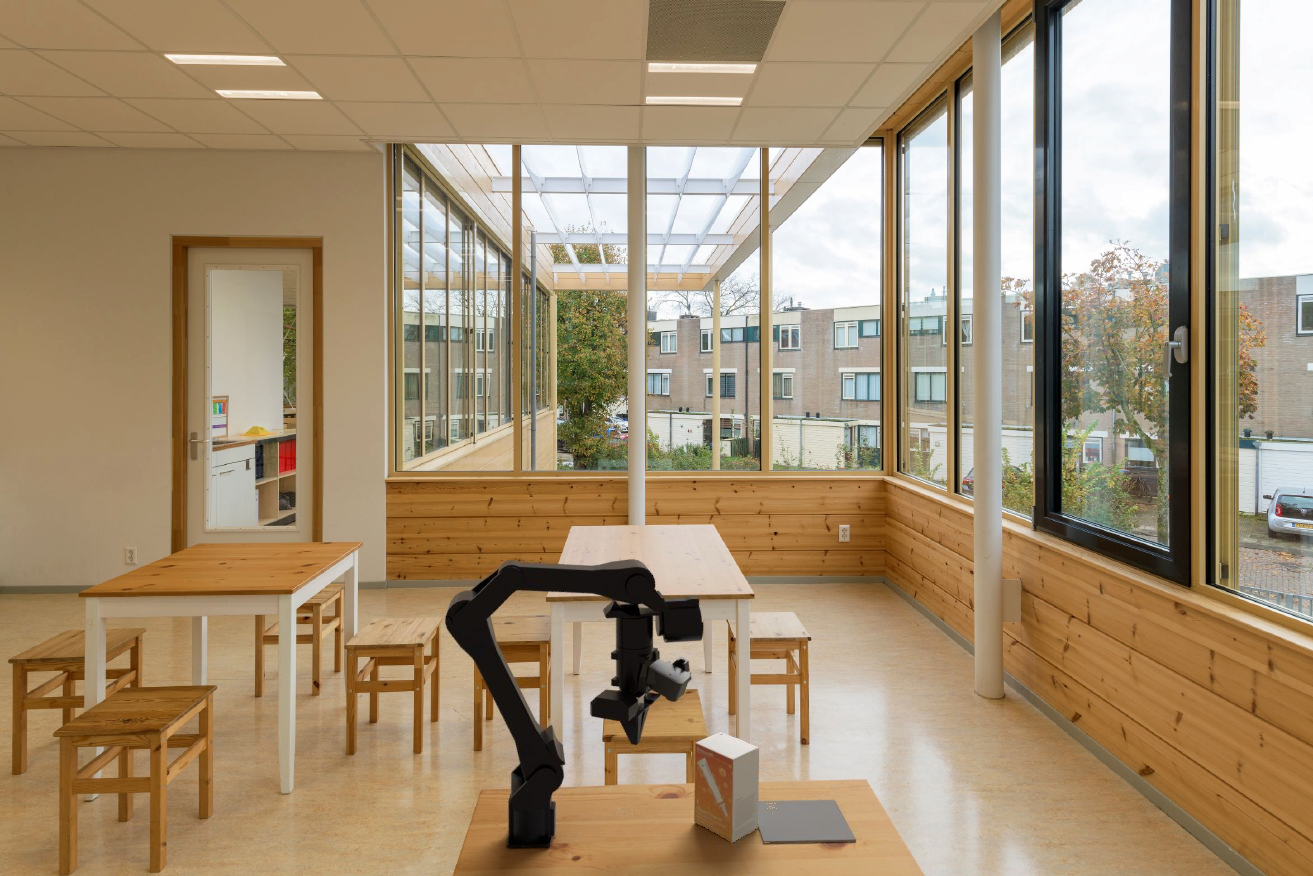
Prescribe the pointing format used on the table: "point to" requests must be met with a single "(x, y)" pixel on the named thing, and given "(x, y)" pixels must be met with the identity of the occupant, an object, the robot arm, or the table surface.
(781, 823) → the mat
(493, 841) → the table surface
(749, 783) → the small box
